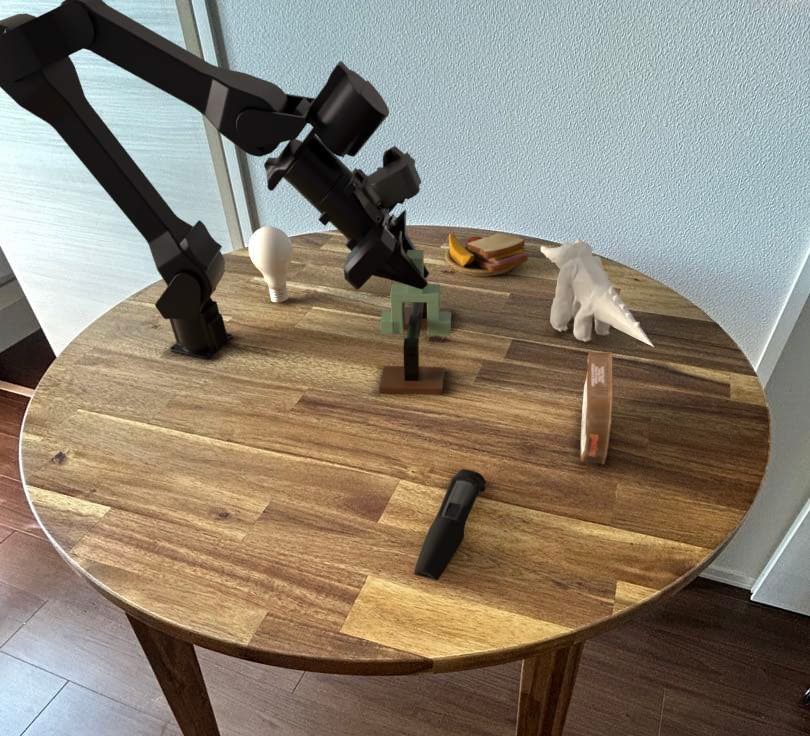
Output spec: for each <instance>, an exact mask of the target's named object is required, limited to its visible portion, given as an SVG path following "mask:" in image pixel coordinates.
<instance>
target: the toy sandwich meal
mask: <svg viewBox="0 0 810 736" xmlns="http://www.w3.org/2000/svg"><path fill="white" fill-rule="evenodd" d="M525 243H526V242H525V239H524V238H520V237H515V236H513V235H511V234H507V233H504V232H499V233H495V234H493V235H490V236H487V237H481V236H471V237H469V238H464V237H463V238H462V237H461V238H460V237H459V238H457V236H456V235H455V234H454V233H453V232H451V233H449V234H448V245H449V247H448V249H447V250H446V252H445V255H444V258H445V260H446V262H447V264H449V265H450V266H451V267H452V268H453V269H454V270H455V271H457V272H459V273H461V274H464V275H468V276H472V277H494V276H500V275H503V274H506V273H508V272H510V271H512V270H513V269H514V268H515V267H517V266H520V265H522V264H524V263H526V262H527V261H528V260H529V253H528V252H525V251H526V250H525V248H524V247H525V245H526V244H525Z"/></svg>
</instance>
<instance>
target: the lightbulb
mask: <svg viewBox="0 0 810 736" xmlns="http://www.w3.org/2000/svg"><path fill="white" fill-rule="evenodd" d="M248 241H249V242H248V255H249V258H250V260H251V263H252V264H253V265H254V266H255V268H256V269H257V270H258V271H259V272H260V273H261V274H262V276H263V278H264V281H265V283H266V285H267V287H268V290H269V295H270V300H271V301H272V302H273V303H277V304H283V302H286V301H287V300H288V299H289V293H288V288H287V280H288V270H289V268H290V266H291V264H292V262H293V257H294V247H293V243H292V241H291V239H290V237H289V236H288V235H287V233H286V232H285V231H284V230H282V229H280V228H278V227H276V226H270V225H268V226H267V225H266V226H263V227H259V228H258V229H256V230H255V232H253V234H252V235H251V236H250V239H249V240H248Z"/></svg>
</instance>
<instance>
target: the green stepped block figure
mask: <svg viewBox="0 0 810 736" xmlns="http://www.w3.org/2000/svg"><path fill="white" fill-rule="evenodd" d="M424 252H425V251H424V249H416V250H408V251H407V255H408V256H409V258H410V259H411V260H412V262H413V263H414V264H415V266H416V267H417V268H418V269H419V271H420V272H421V273H422V275H423V276H424V265H425V261H424V259H425V255H424ZM389 298H390V310H382V312H381V317H380V320H379V324H380V325H379V326H380V334H381V335H404V333H405V329H404V326H405V307H406V306H405V304H406V303H412V302H427V329H426V330H427V331H426V332H427V333H426V334H427V335H428V336H451V326H452V311H449V312H440V308H441V284H429V283H428V284H427V286H426V287H425V288H424V289H418V288H415V287H412V286H409V285H406V284H403V283H392V285H391V289H390V295H389Z"/></svg>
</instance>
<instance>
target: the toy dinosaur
mask: <svg viewBox="0 0 810 736" xmlns="http://www.w3.org/2000/svg"><path fill="white" fill-rule="evenodd" d="M540 252H541V253H542V254H543V255H544V256H545V258H546V259H549V261H550V262H551V263H554V264H555V265H556V267H558V269H559V272H558V274H557V279H556V280H557V281H556V287H555V296H554V297H553V300H552V304H551V306H550V318H549V319H550V320H549V322H550V324H551V328H552V329H554V330H556V331H559V332H562V331H563V332H567V330H569V328H568V324H569V322H570V321H571V320H572V318H573V319H574V321H573V330H572V331H573V332H572V333H573V336H574V338H575V339H576V340H578V341H580V342H582V341H583V342H585V343H586V342H590V341H591V340H592V328H593V318H594V331H595V333H596V334H597V335H598V336H599V335H600V336H608V335H610V334H611V332H610V331H609V330H610V327H611V326H612V328H614V329H616V330H618V331H620V332H622V333H625V334H627V335H628V336H630V337H632V338H635V339H636V340H638V341H640V342H642V343H644V344H647V345H649V346H650V347H652V348H655V345H654V344H653V343H652V341H651V340H650V339H649V337H648V336H647V334H646V333H645V332H644V330H643V328H642V327H641V326H640V325H641V322H640V321H637V320H636V319H635V317H634V315H633V313H631V311H630V310H629V309H628V307H627V305H626V304H625V303H624V301H623V300H622V299H621V295H620V293H618V292H617V291H616V290H615V286H614V285H612V284H611V283H610V281H609V275H608V273H607V272H606V270H604V268H603V262H602V258H601V257H600V256H598V255H595V256H594V255H593V247H592V246H591V244H589V243H587V242H585V241H583V240H582V239H581V238H576V240H575V241H574V243H573V242H572V243H571V242H567V241H566V242H563V243H562V244H561V245H560V246H557V247H547V246H545V245H541V246H540ZM573 296H574V297H573Z"/></svg>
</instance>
